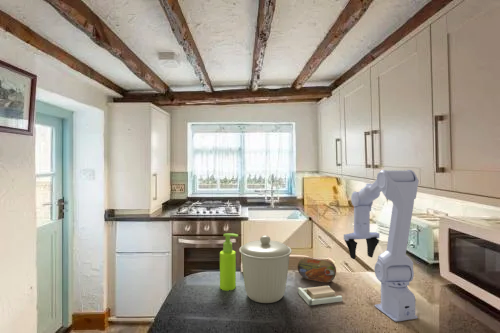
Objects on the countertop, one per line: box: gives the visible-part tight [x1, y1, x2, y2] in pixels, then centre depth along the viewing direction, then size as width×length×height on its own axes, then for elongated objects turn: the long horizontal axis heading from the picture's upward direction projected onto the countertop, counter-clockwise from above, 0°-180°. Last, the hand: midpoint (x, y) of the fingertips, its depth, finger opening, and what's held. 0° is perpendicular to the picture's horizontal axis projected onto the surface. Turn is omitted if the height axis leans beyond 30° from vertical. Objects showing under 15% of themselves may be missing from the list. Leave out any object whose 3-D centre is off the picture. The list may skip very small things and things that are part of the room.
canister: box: [238, 235, 293, 304], centre depth 99 cm, size 18×18×21 cm
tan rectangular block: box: [306, 285, 336, 299], centre depth 98 cm, size 5×8×3 cm, turn 105°
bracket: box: [297, 285, 343, 306], centre depth 98 cm, size 9×12×2 cm
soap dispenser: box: [219, 232, 239, 292], centre depth 106 cm, size 6×7×20 cm
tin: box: [297, 256, 337, 283], centre depth 113 cm, size 15×3×8 cm, turn 62°
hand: (361, 257), depth 111 cm, fingers open, 7 cm apart
